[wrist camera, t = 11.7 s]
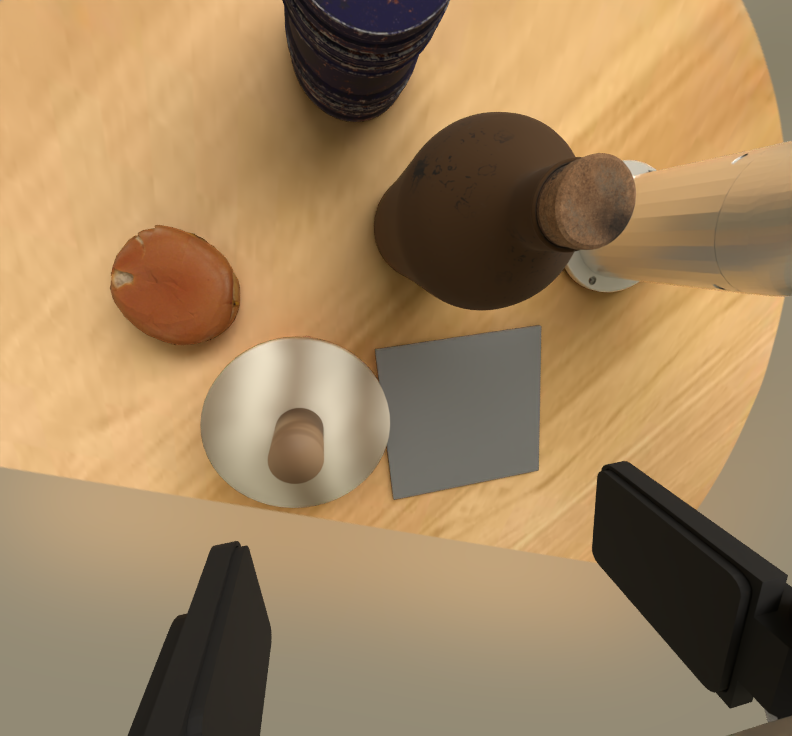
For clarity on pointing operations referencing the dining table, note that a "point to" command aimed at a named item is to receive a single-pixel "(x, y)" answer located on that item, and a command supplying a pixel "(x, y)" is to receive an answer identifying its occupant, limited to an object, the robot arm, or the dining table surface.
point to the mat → (462, 409)
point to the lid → (295, 422)
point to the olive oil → (499, 210)
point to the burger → (175, 286)
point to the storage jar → (358, 50)
